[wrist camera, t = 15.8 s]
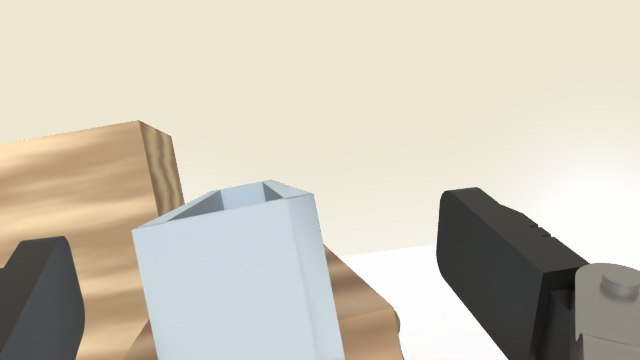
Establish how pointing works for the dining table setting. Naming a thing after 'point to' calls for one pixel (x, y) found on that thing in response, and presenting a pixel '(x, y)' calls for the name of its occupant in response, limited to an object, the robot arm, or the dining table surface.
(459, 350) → the dining table surface
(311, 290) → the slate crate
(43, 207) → the oak tower
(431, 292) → the dining table surface
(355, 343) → the walnut crate
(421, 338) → the dining table surface
